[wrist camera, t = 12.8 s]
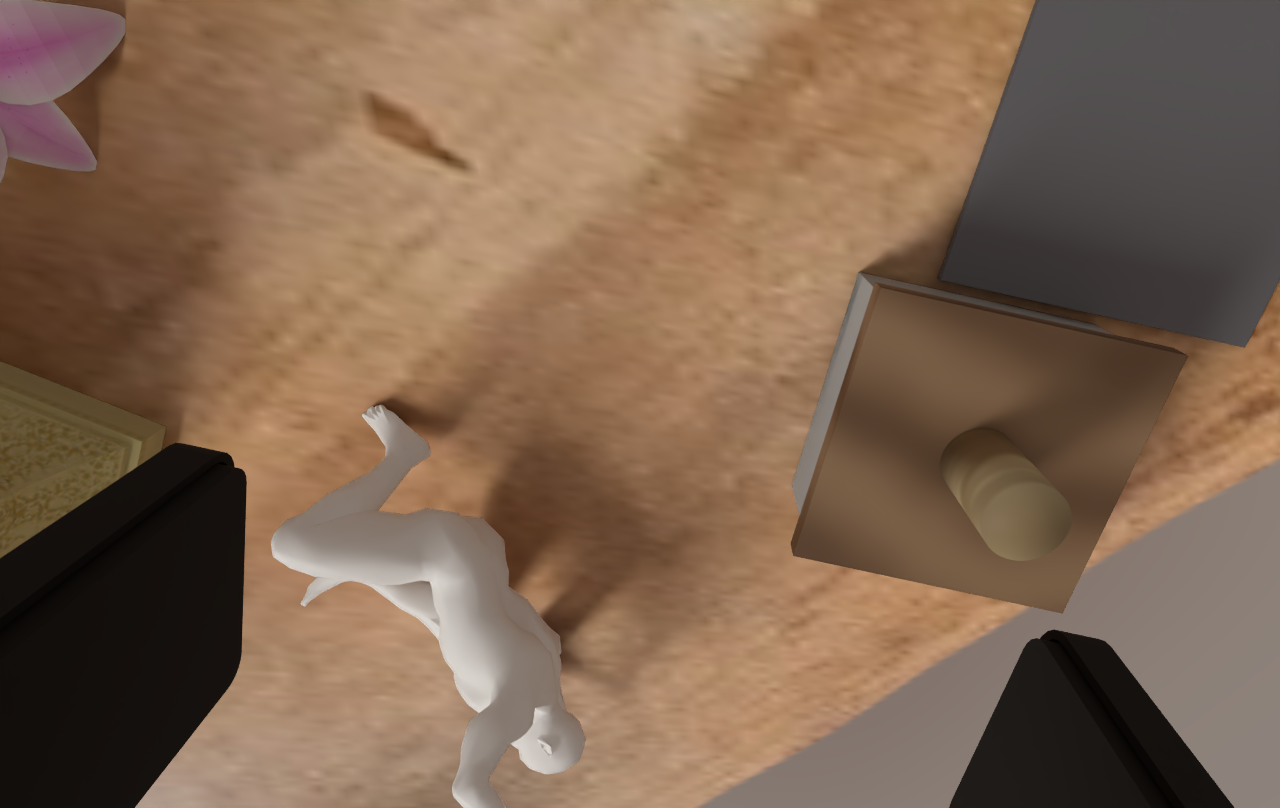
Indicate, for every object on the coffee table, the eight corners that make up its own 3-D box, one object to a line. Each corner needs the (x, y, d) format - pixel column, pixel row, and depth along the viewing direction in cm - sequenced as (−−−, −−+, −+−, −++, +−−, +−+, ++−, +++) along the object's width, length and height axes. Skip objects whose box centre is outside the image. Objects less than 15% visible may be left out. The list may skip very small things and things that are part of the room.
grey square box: (858, 272, 36) (884, 298, 31) (1095, 324, 36) (1155, 358, 31) (791, 485, 40) (805, 537, 35) (1005, 531, 40) (1046, 589, 35)
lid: (875, 281, 31) (915, 322, 25) (1172, 347, 31) (1278, 402, 26) (790, 543, 35) (809, 627, 30) (1052, 599, 36) (1120, 693, 30)
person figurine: (151, 683, 33) (530, 905, 32) (273, 412, 31) (678, 636, 30) (316, 585, 46) (590, 740, 45) (408, 389, 44) (696, 545, 43)
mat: (1062, -74, 31) (1066, -77, 30) (1411, 6, 31) (1420, 5, 31) (938, 278, 36) (940, 280, 35) (1239, 344, 36) (1244, 347, 36)
